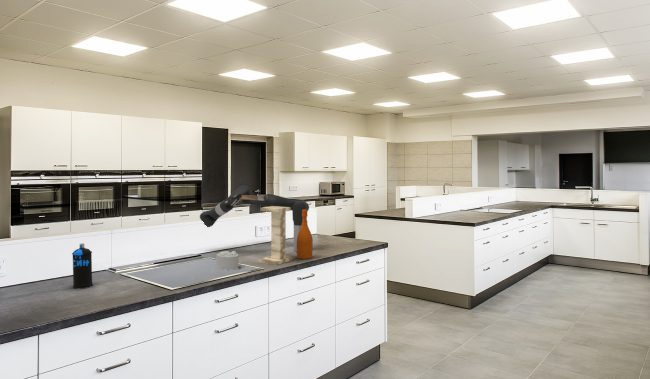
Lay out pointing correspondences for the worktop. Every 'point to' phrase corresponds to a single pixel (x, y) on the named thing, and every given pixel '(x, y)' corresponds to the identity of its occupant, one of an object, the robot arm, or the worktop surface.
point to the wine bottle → (304, 239)
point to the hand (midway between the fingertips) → (242, 194)
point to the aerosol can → (82, 267)
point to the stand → (277, 236)
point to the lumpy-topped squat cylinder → (227, 260)
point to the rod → (254, 197)
